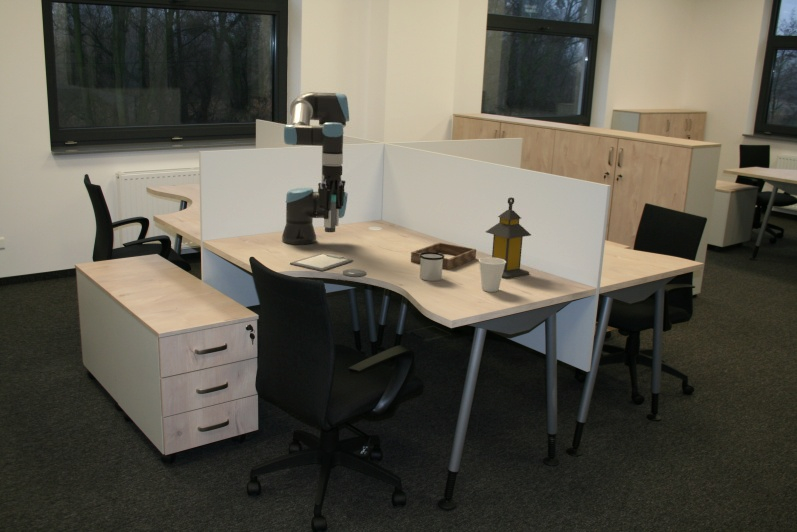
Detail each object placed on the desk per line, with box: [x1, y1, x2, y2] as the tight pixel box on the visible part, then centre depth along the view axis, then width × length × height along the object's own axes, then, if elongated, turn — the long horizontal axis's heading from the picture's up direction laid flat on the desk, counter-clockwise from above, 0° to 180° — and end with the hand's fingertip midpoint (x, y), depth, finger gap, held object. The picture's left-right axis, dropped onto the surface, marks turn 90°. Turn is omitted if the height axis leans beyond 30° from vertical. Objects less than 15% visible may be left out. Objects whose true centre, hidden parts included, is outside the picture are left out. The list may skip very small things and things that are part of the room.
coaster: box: [342, 268, 367, 278], centre depth 285 cm, size 9×9×1 cm
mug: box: [419, 252, 445, 282], centre depth 283 cm, size 12×10×9 cm
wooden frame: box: [410, 242, 477, 270], centre depth 310 cm, size 23×18×4 cm
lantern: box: [485, 197, 532, 280], centre depth 292 cm, size 14×14×30 cm
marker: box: [324, 194, 336, 233], centre depth 283 cm, size 4×4×14 cm
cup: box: [478, 256, 506, 293], centre depth 270 cm, size 10×10×11 cm
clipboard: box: [289, 253, 354, 272], centre depth 298 cm, size 20×16×1 cm
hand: (331, 226), depth 284 cm, fingers closed on marker, 4 cm apart
